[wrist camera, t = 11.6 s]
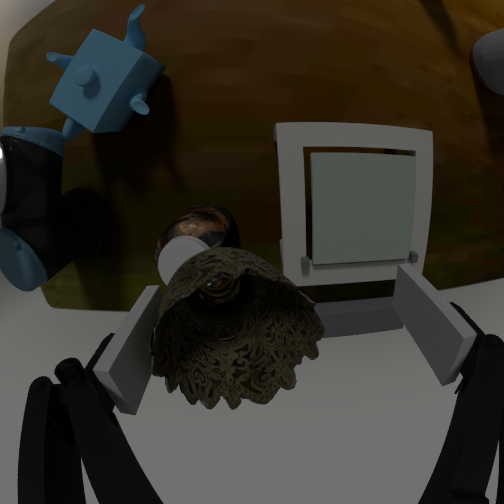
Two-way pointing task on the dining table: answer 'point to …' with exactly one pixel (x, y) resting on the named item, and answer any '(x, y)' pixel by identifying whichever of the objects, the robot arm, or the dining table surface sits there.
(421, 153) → the frame
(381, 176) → the trapdoor
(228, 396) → the cup
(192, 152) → the dining table surface
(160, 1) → the dining table surface
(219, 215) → the jar
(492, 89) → the citrus juicer
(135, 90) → the teakettle
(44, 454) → the robot arm
